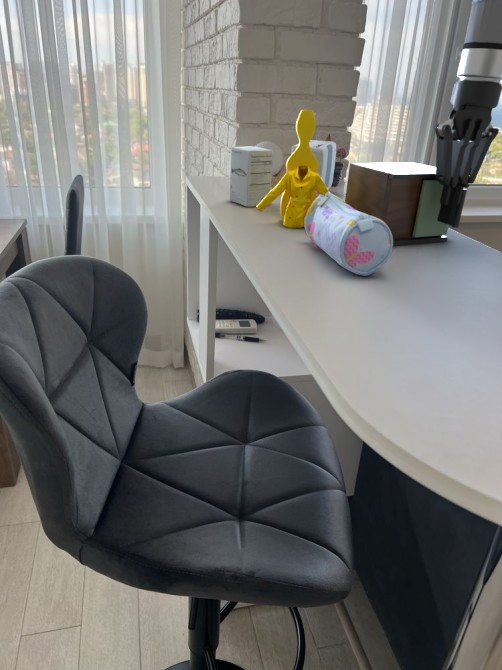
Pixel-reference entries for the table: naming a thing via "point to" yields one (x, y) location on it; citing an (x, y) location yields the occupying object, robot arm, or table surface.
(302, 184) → the figure statuette
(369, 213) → the cabinet
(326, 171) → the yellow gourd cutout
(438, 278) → the table surface
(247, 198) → the white packaging box
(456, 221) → the sliding door
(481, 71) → the robot arm
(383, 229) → the pencil case
